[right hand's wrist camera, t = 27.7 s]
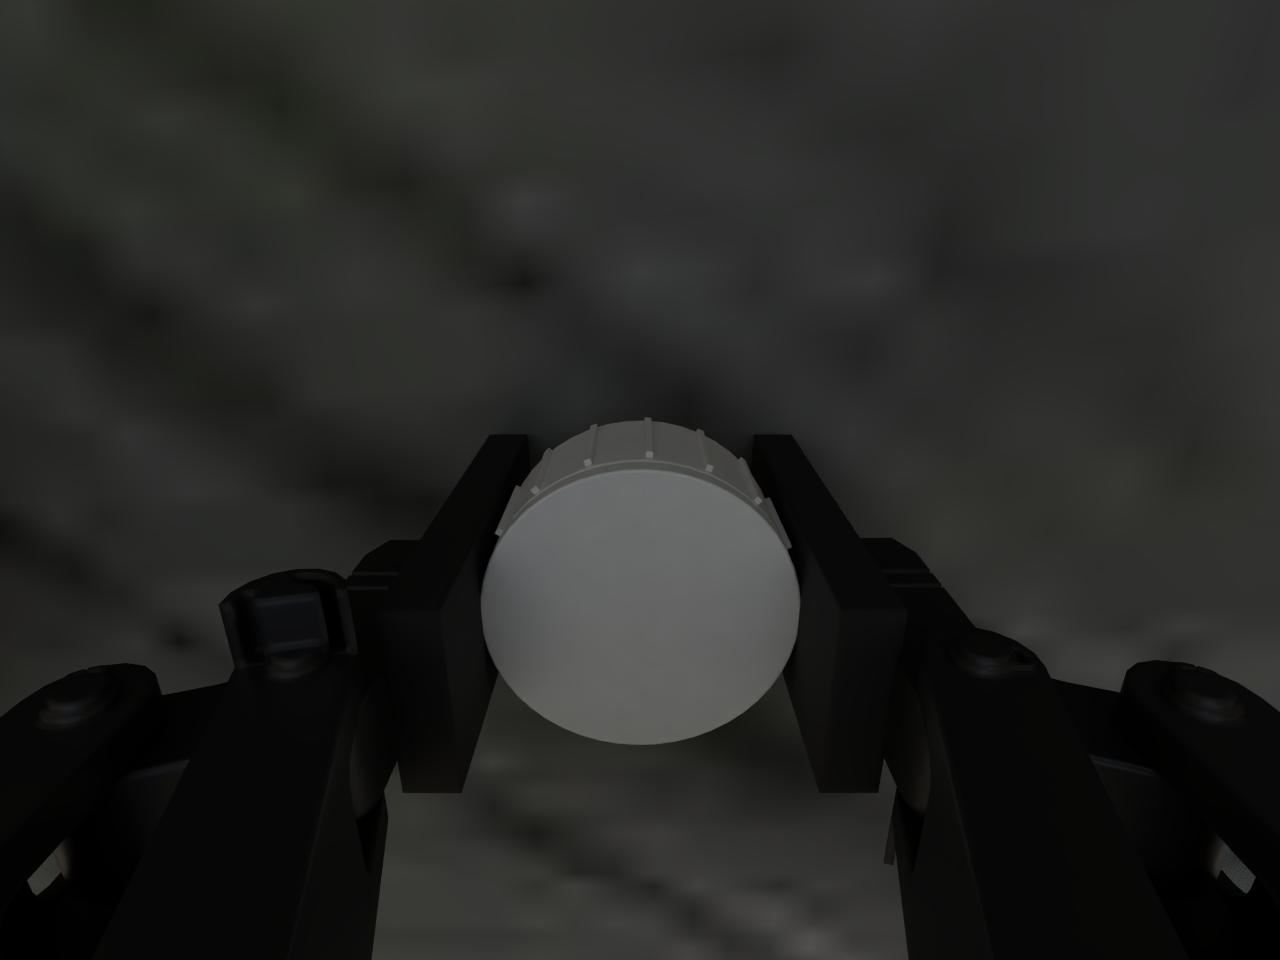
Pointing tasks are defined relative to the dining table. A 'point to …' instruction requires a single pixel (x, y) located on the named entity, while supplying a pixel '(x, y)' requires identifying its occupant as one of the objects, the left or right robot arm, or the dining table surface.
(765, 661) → the lid
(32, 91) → the dining table surface
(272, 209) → the dining table surface
